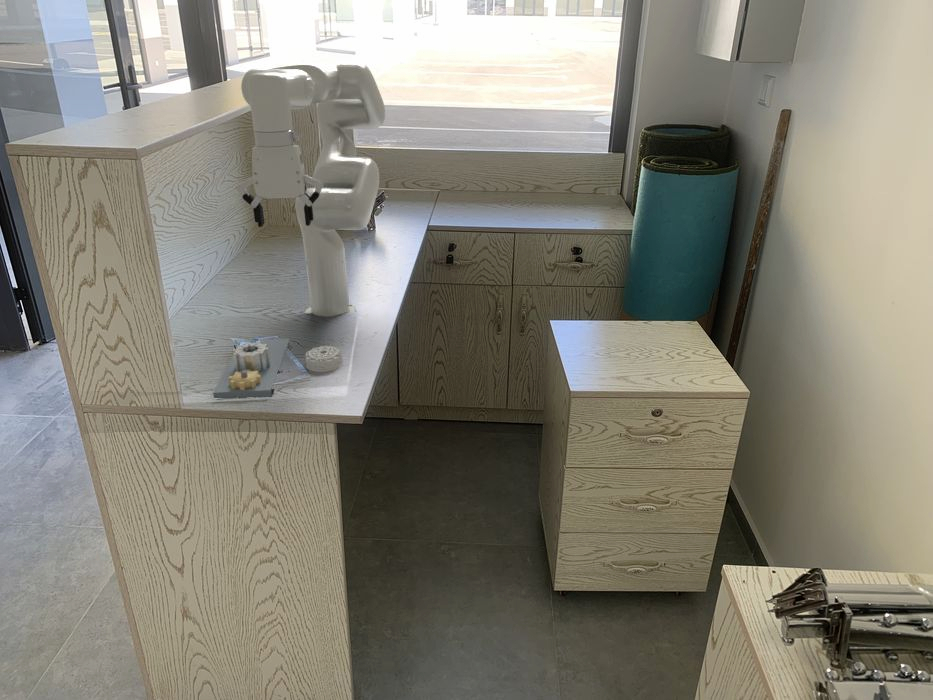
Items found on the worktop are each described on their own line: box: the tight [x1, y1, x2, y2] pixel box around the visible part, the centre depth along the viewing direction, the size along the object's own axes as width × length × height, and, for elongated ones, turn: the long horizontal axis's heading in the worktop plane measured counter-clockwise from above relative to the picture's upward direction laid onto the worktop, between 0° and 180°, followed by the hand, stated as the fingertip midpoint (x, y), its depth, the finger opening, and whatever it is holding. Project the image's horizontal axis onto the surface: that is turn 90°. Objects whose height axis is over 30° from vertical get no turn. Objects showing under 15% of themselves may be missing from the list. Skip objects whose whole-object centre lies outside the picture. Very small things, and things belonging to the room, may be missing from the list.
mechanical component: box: [305, 345, 344, 373], centre depth 145 cm, size 10×4×10 cm
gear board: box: [212, 338, 291, 399], centre depth 145 cm, size 25×11×4 cm, turn 5°
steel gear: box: [232, 342, 271, 372], centre depth 144 cm, size 7×7×4 cm
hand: (285, 224), depth 144 cm, fingers open, 9 cm apart
